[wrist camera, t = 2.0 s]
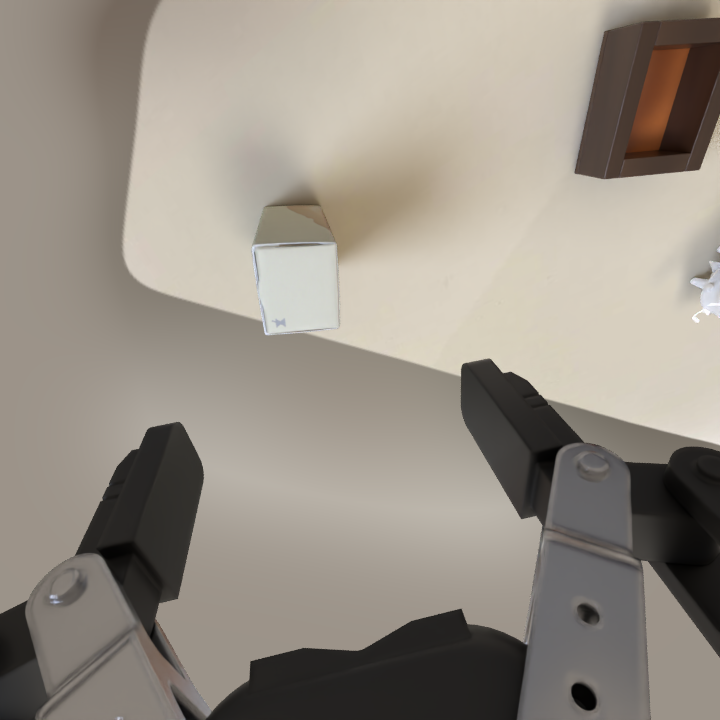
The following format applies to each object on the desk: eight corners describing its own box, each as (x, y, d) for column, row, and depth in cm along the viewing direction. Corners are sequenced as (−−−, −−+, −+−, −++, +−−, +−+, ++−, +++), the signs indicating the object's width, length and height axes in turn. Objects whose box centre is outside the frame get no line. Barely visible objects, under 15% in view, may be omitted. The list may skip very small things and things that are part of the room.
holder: (574, 173, 31) (604, 179, 28) (604, 31, 26) (643, 21, 23) (662, 165, 32) (699, 170, 29) (706, 26, 27) (756, 15, 24)
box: (324, 270, 32) (341, 335, 22) (269, 273, 31) (263, 341, 22) (321, 200, 29) (338, 241, 20) (260, 202, 28) (249, 245, 19)
